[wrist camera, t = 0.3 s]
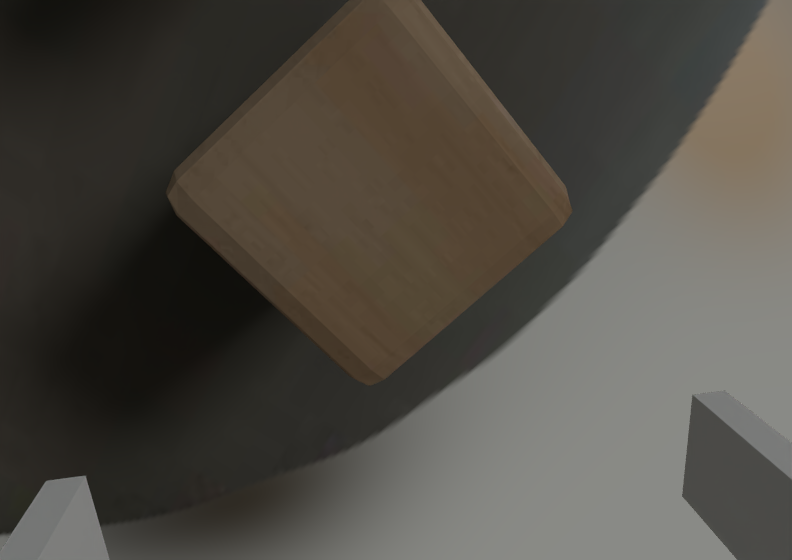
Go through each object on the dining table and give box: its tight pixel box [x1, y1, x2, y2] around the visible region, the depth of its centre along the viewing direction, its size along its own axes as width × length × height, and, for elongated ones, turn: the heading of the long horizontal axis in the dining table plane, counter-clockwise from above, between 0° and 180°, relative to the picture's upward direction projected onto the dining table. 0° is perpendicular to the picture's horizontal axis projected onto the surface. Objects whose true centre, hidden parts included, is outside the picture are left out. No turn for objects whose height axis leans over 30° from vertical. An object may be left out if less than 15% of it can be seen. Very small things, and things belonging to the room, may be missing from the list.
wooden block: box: [166, 0, 572, 386], centre depth 28 cm, size 10×10×20 cm
